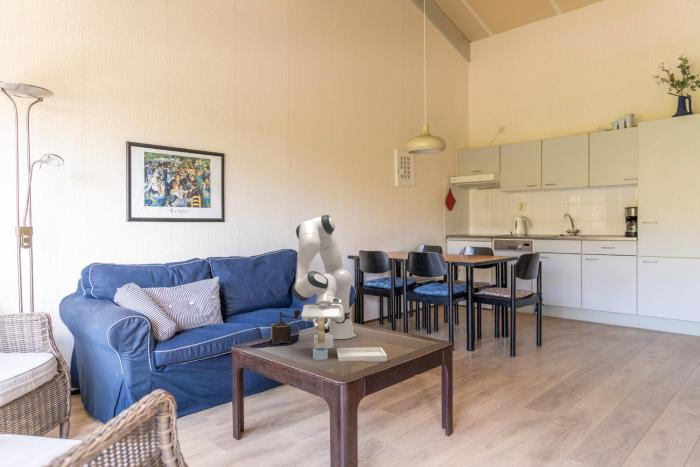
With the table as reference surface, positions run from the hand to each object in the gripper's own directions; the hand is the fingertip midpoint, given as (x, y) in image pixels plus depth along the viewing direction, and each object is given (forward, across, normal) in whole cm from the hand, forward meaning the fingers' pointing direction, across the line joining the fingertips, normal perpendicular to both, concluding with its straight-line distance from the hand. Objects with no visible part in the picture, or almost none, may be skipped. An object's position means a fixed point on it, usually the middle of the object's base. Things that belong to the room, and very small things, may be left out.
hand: (320, 328), depth 211 cm
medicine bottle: (-4, -3, +26) cm, 26 cm away
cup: (+10, 0, +11) cm, 15 cm away
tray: (+6, +18, +16) cm, 24 cm away
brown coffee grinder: (-14, -27, +36) cm, 47 cm away
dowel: (+5, 0, +6) cm, 7 cm away
